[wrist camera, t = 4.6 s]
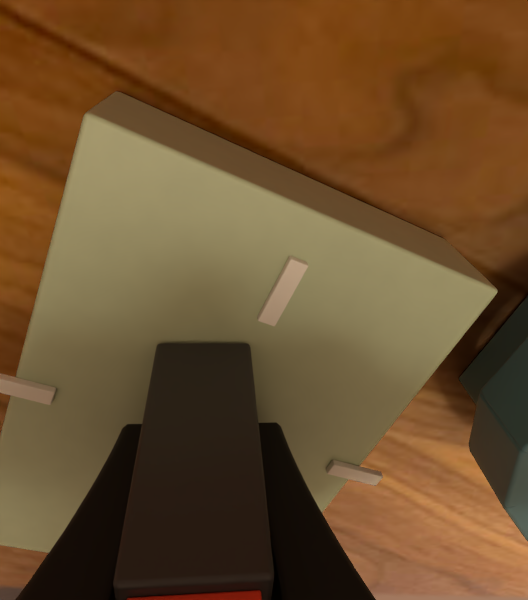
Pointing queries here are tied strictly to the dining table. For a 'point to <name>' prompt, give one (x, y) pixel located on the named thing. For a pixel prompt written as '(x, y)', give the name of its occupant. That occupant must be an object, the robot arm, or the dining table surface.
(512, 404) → the switch box
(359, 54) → the dining table surface
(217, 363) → the dimmer knob
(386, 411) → the dimmer panel
